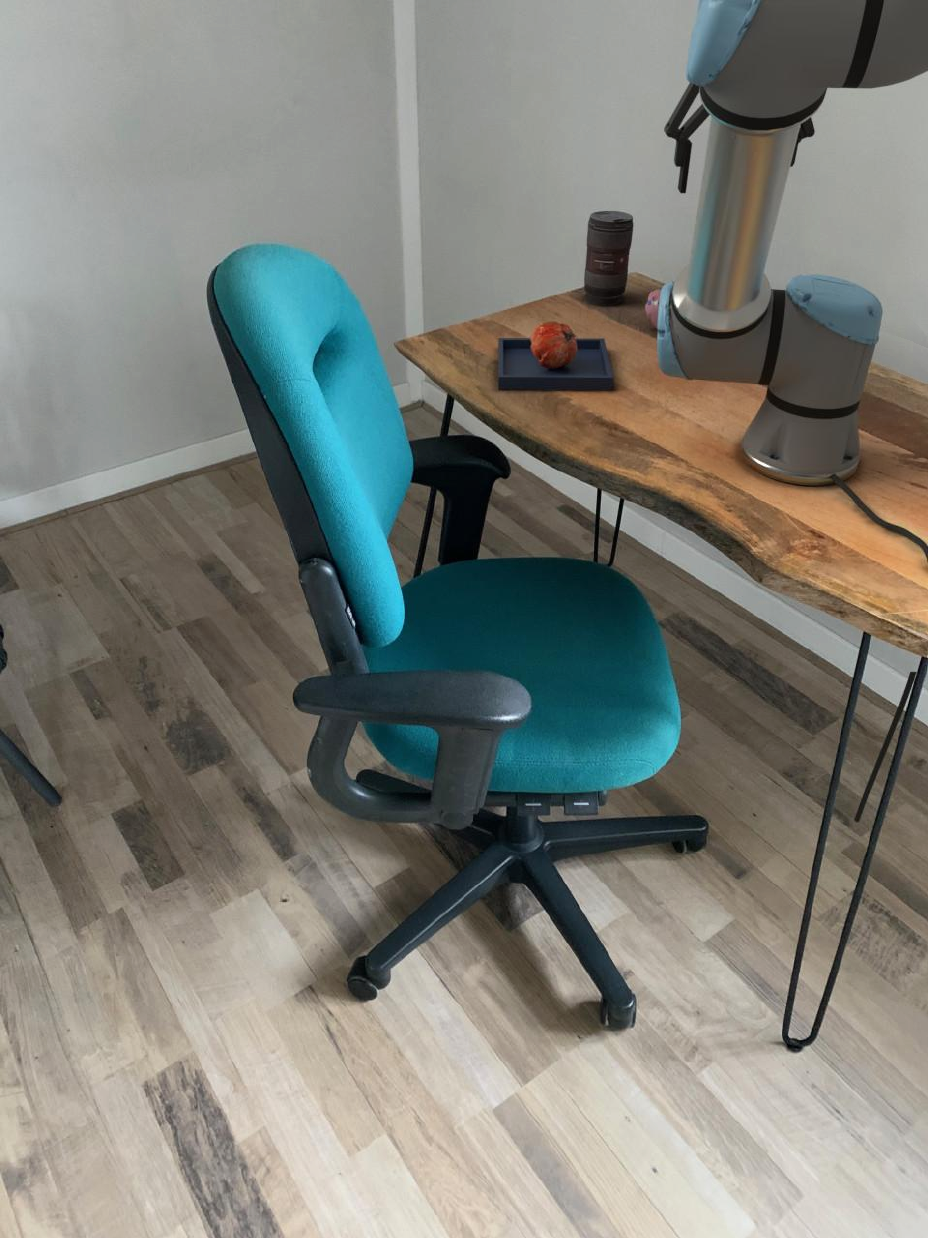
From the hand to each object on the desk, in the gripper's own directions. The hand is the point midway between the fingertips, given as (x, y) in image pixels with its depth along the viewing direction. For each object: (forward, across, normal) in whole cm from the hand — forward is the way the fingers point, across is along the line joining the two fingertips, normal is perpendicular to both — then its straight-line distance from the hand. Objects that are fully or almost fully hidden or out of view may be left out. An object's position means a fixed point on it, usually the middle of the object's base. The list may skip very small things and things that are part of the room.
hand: (729, 191), depth 136 cm
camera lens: (+27, +13, -31) cm, 43 cm away
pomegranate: (+26, +24, +1) cm, 36 cm away
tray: (+27, +24, +1) cm, 36 cm away
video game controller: (+27, +4, -18) cm, 33 cm away
